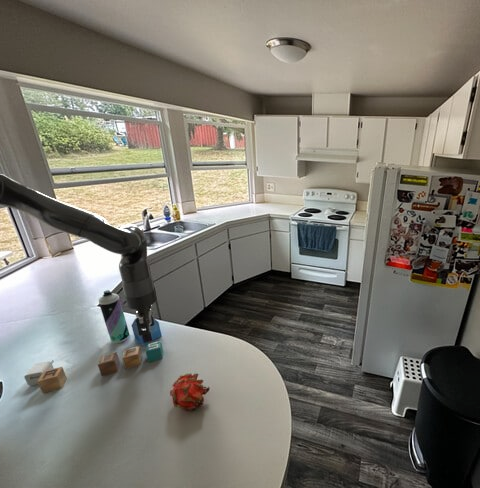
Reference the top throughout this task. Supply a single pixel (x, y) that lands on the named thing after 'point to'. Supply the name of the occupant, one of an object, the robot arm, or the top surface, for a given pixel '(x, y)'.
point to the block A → (52, 379)
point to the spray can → (114, 317)
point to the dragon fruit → (188, 392)
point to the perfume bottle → (154, 329)
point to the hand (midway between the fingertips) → (149, 333)
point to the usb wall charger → (37, 372)
